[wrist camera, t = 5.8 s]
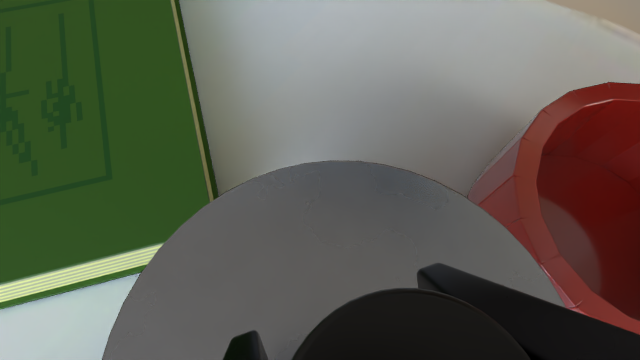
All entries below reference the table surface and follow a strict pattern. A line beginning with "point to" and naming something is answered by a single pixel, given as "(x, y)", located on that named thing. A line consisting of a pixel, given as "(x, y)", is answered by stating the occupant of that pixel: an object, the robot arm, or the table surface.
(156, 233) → the hardcover book
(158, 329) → the lid
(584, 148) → the red faceted pot
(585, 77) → the table surface
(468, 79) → the table surface
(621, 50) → the table surface
